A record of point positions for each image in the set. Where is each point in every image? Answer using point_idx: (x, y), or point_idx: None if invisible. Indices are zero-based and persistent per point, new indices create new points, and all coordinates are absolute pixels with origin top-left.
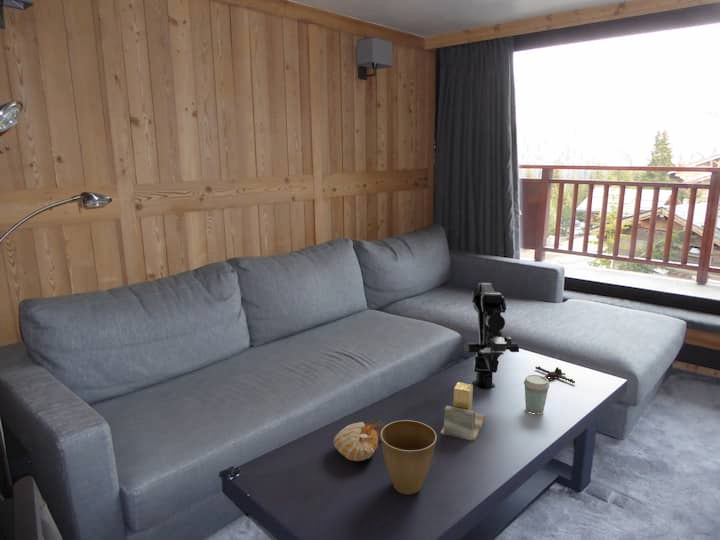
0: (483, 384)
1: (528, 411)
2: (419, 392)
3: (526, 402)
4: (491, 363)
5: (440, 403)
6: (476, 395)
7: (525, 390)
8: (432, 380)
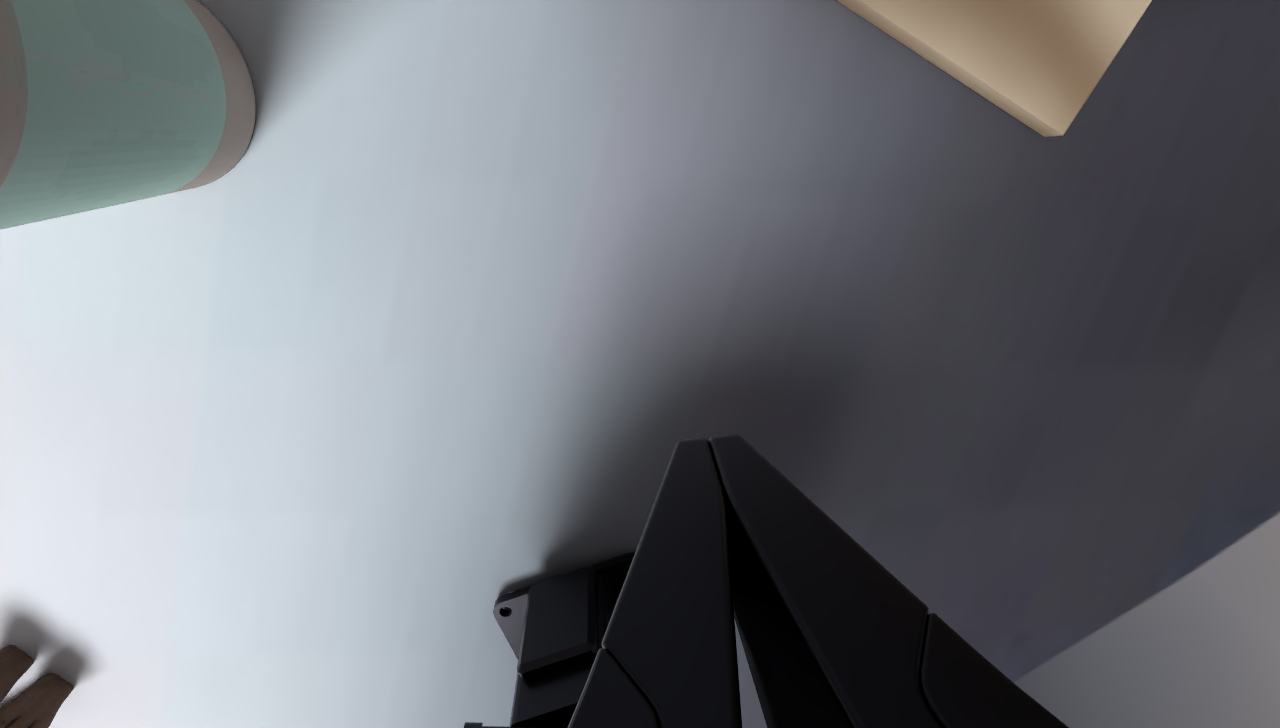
0: (612, 600)
1: (225, 35)
2: (1178, 494)
3: (182, 45)
4: (792, 596)
5: (1098, 296)
6: None
7: (39, 16)
8: None
